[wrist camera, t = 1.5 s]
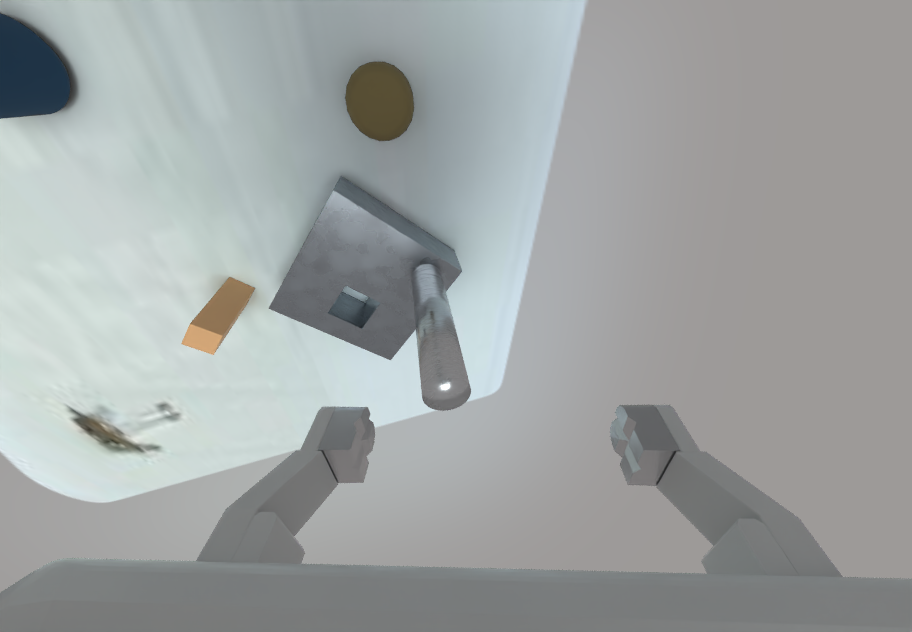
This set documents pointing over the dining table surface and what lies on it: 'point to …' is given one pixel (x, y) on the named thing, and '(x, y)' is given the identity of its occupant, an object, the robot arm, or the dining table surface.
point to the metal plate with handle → (379, 289)
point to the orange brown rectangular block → (218, 316)
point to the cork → (379, 101)
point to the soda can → (29, 73)
